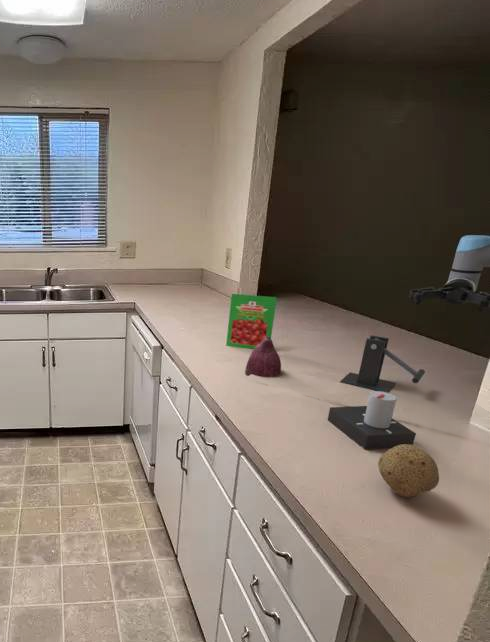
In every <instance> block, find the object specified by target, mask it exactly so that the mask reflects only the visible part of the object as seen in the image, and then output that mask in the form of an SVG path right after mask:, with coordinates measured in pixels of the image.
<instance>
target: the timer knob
mask: <svg viewBox="0 0 490 642" xmlns="http://www.w3.org/2000/svg"><path fill="white" fill-rule="evenodd" d="M397 399H398V398H397V396H396V395H394V394H392V393H390V392H388V393H386V392H381V391H374V390H372V391H371V392H369V397H368V400H367V404H366V406H367V409H366V413H365V417H364V422H365V423H366V424H367V425H369V426H372V427H375V428H381V429H385V428H389V426H390V423H391V419H392V418H393V415H394V410H395V407H396V403H397Z"/></svg>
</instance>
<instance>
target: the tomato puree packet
mask: <svg viewBox="0 0 490 642" xmlns="http://www.w3.org/2000/svg"><path fill="white" fill-rule="evenodd" d="M277 299H278V297H277V296H267V295H266V296H264V295H253V294H252V295H251V294H239V293H231V297H230V306H229V315H228V323H227V324H228V325H227V335H226V344H225V346H227V347H232V348H240V349H247V350H254V348H255V347H256V346H257V345H258V344H259V343H261V342H262V341H263V340H264V339H265V338H266V337H267V336H268V337H270V338H271V339H272V333H273V332H272V331H273V327H274V318H275V313H276V304H277Z"/></svg>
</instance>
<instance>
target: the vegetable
mask: <svg viewBox="0 0 490 642" xmlns="http://www.w3.org/2000/svg"><path fill="white" fill-rule="evenodd" d="M281 373H282V362H281V358H280V355H279V354H278V351H277V350H276V348H275V345H274V342H273V340H272V337H271V338H270V337H268V336H267V337H266V338H265V339H264V340H263V341H262V342H261V343H259V344H258V345H257V346H256V347H255V348H254V349H252V351H251V353H250V355H249V357H248V360H247V363H246V365H245V371H244V374H245V375H246V376H247V377H249V376H251V375H253V376H256V377H261V378H274V377H275V378H276V377H278V376H280V375H281Z"/></svg>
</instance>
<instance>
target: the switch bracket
mask: <svg viewBox="0 0 490 642" xmlns="http://www.w3.org/2000/svg"><path fill="white" fill-rule="evenodd" d="M375 338H378V339H379V340H375ZM389 341H390V339H389V337H384V336H377V335H373V334H371V335H370V336H369V338H368V337H367V338H366V339H365V344H364V348H363V352H362V358H361V362H360V365H359V366H360V367H359V370H358V373H354V372H348V373H347V374H346V375H345V376H343V378H341V379H340V381H339V383H340V384H346V385H349V386H353V387H357V388H361V389H366V390H368V391H369V390H370V391H381V392H386V393H390V392H391V390H392V389H393V388H394V386H395V385H396V382H395V381H391V380H386V379H382V378H380V377H381V374H382V370H383V369H382V368H383V364H384V361H385V357H386V354H384V353H383V350H384V348H386V349H387V350H388V343H389Z"/></svg>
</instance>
